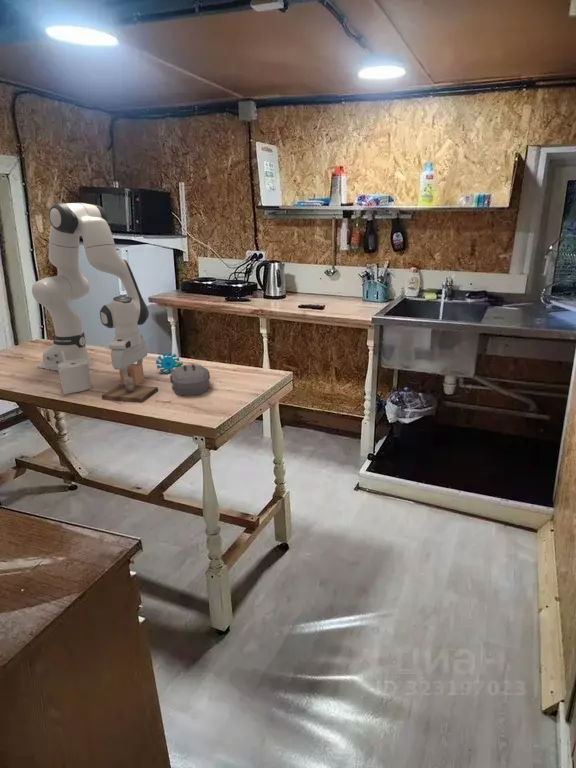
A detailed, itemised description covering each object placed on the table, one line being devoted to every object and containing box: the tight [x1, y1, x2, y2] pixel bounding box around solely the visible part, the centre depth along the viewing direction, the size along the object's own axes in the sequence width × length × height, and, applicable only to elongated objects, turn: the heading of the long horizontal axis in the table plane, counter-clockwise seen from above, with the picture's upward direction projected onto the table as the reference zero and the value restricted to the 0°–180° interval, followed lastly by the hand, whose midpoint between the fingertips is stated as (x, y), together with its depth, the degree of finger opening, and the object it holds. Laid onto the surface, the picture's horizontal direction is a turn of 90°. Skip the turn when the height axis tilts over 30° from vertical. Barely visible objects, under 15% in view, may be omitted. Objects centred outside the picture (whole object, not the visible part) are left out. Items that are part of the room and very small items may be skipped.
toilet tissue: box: [58, 359, 93, 395], centre depth 188 cm, size 11×12×10 cm
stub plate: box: [101, 377, 159, 403], centre depth 181 cm, size 16×12×6 cm
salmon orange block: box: [118, 363, 145, 386], centre depth 193 cm, size 6×6×7 cm
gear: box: [155, 352, 184, 375], centre depth 208 cm, size 11×6×10 cm
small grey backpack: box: [169, 363, 211, 396], centre depth 187 cm, size 15×8×20 cm
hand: (133, 373), depth 193 cm, fingers open, 8 cm apart
